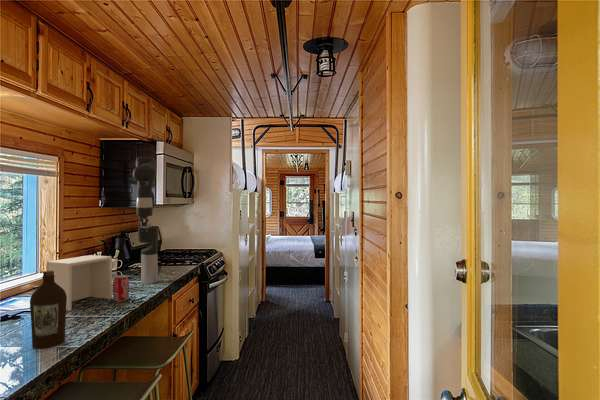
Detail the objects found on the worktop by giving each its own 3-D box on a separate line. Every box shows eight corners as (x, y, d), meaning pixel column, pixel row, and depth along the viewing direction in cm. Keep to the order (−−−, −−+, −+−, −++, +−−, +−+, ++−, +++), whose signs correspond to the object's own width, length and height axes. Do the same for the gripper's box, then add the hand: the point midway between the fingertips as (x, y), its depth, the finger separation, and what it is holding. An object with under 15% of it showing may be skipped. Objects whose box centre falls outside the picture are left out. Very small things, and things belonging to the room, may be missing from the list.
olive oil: (34, 340, 132) (34, 270, 132) (69, 335, 136) (69, 267, 136) (26, 351, 122) (25, 275, 122) (63, 346, 126) (63, 272, 126)
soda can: (130, 298, 188) (130, 274, 188) (126, 301, 182) (126, 277, 182) (115, 298, 187) (115, 275, 187) (111, 302, 180) (110, 277, 180)
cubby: (47, 307, 173) (46, 261, 173) (90, 295, 194) (90, 254, 194) (69, 310, 167) (68, 263, 167) (111, 298, 188) (111, 256, 188)
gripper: (136, 206, 195) (137, 237, 195) (135, 207, 181) (136, 240, 181) (152, 206, 197) (152, 236, 197) (152, 206, 184) (152, 239, 184)
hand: (144, 238), depth 189 cm, fingers open, 8 cm apart
